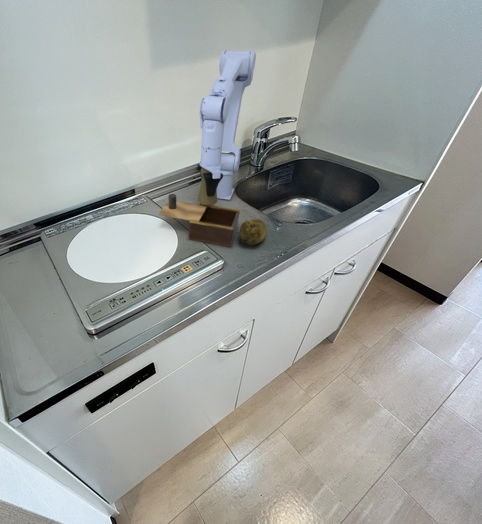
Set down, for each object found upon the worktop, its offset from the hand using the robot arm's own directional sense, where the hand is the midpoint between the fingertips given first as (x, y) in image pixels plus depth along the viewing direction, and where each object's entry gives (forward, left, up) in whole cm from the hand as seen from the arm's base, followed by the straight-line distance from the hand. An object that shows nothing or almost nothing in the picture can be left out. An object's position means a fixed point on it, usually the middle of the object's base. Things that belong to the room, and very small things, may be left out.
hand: (208, 191), depth 86 cm
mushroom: (0, 0, -3) cm, 3 cm away
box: (+6, +4, -10) cm, 13 cm away
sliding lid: (+6, -6, -4) cm, 10 cm away
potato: (+7, +16, -11) cm, 20 cm away
